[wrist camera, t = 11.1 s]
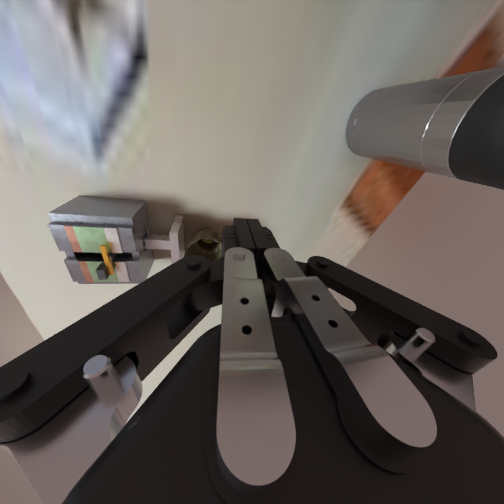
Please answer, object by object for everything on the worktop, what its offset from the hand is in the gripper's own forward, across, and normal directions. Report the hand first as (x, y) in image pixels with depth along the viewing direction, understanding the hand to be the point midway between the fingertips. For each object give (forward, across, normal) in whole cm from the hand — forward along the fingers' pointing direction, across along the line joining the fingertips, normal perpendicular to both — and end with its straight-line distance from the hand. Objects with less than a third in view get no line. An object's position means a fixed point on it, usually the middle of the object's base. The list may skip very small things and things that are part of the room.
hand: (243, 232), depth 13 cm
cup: (+24, +3, +13) cm, 27 cm away
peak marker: (+15, +17, +15) cm, 27 cm away
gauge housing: (+23, +18, +13) cm, 32 cm away
